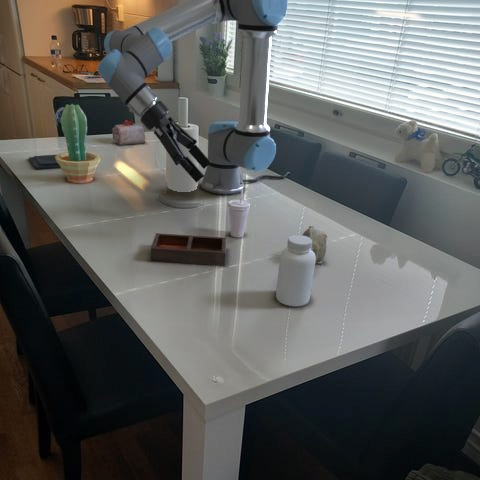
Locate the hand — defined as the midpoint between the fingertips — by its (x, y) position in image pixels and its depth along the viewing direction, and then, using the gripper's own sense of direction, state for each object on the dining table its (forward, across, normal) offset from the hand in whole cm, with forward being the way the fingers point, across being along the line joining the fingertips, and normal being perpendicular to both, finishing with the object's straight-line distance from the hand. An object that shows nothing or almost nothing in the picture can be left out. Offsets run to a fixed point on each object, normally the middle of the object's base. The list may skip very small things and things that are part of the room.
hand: (204, 172), depth 138 cm
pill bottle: (+31, +35, +6) cm, 47 cm away
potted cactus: (-23, -37, -48) cm, 65 cm away
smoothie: (+20, 0, -5) cm, 20 cm away
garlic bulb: (+35, +12, +10) cm, 38 cm away
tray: (+12, +17, -13) cm, 24 cm away
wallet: (-33, -55, -58) cm, 87 cm away
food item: (-21, -95, -46) cm, 108 cm away
